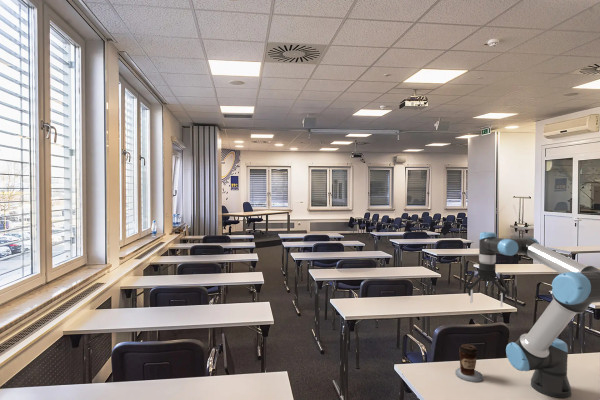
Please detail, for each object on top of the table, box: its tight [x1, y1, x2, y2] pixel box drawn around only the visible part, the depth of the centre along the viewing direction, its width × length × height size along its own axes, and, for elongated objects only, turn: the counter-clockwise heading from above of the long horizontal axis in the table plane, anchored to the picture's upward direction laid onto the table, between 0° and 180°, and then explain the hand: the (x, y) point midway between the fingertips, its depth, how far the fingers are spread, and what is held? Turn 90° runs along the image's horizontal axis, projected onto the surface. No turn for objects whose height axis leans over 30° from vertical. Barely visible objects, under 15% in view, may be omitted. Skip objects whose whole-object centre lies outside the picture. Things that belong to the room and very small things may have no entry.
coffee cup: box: [458, 343, 479, 376], centre depth 176 cm, size 9×8×13 cm
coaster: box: [454, 367, 484, 383], centre depth 176 cm, size 12×12×1 cm
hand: (486, 304), depth 186 cm, fingers open, 13 cm apart
